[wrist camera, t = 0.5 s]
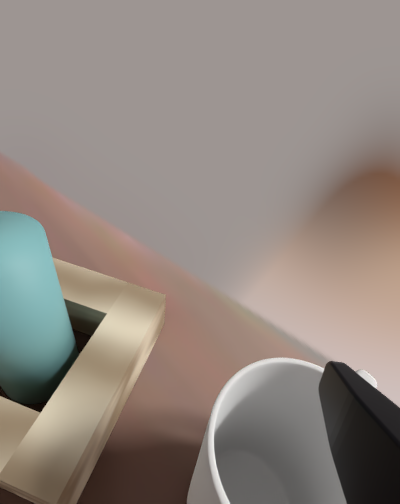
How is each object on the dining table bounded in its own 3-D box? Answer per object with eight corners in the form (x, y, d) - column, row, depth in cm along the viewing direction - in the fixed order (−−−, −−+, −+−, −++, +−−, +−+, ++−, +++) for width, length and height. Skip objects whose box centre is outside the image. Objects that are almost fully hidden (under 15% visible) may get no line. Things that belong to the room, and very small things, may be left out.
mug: (232, 632, 16) (322, 668, 8) (159, 495, 19) (168, 421, 11) (347, 486, 21) (475, 414, 13) (272, 399, 24) (335, 300, 16)
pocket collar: (68, 519, 18) (55, 505, 15) (-129, 427, 20) (-171, 401, 18) (164, 323, 28) (166, 294, 26) (25, 276, 30) (14, 244, 28)
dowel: (50, 416, 22) (-10, 301, 13) (-17, 388, 23) (-114, 263, 14) (93, 349, 26) (67, 227, 17) (34, 327, 27) (-18, 201, 18)
